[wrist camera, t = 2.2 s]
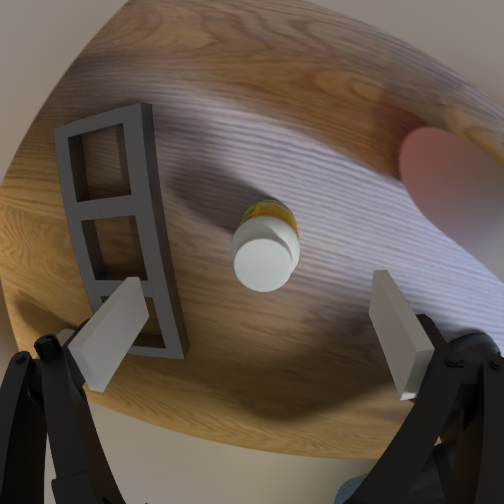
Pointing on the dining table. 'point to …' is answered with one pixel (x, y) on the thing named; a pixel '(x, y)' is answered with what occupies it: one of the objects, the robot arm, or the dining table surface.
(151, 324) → the dining table surface
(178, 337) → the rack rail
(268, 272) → the supplement bottle
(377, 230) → the dining table surface
